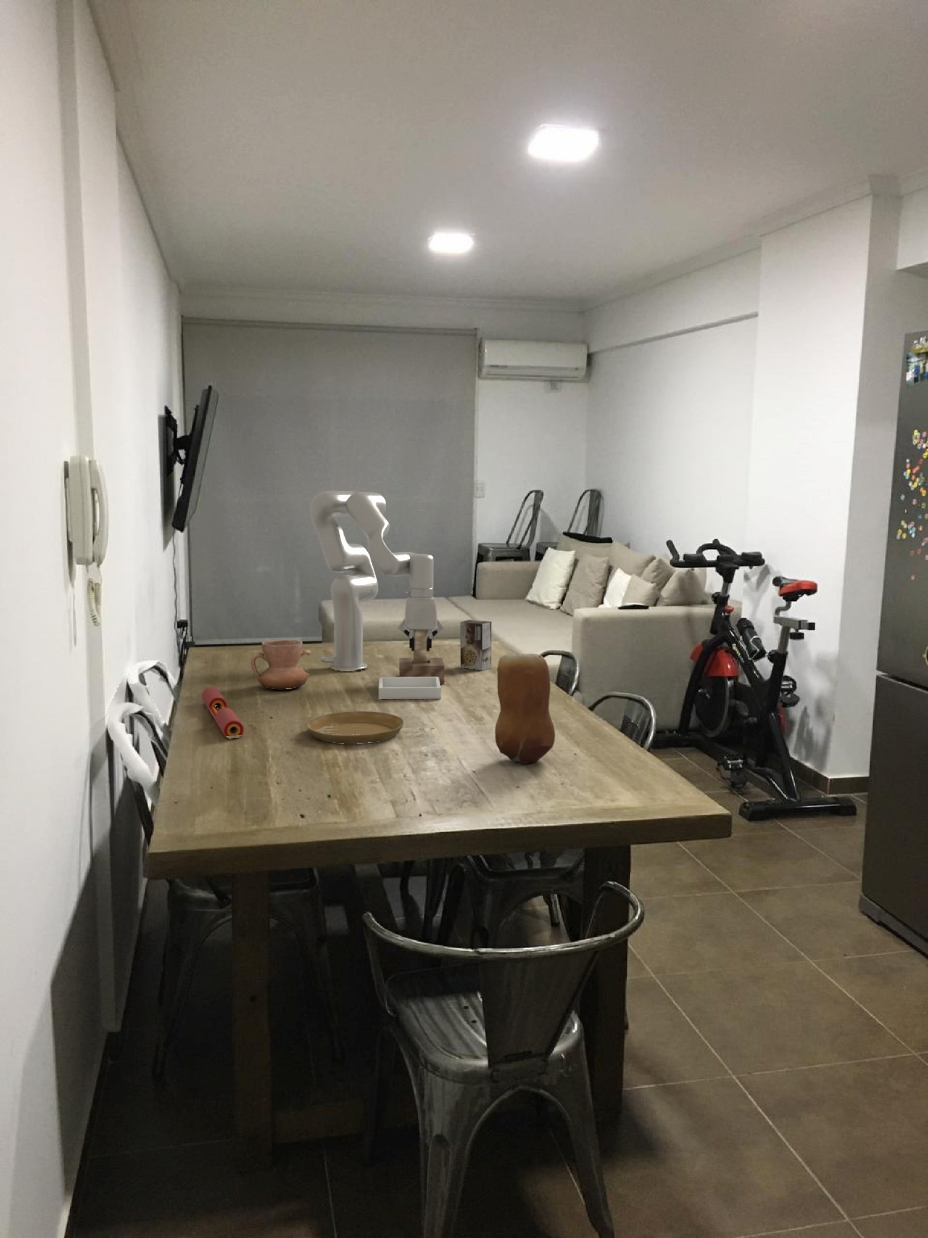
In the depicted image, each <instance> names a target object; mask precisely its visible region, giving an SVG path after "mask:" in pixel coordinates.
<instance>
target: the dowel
mask: <svg viewBox="0 0 928 1238" xmlns="http://www.w3.org/2000/svg"><path fill="white" fill-rule="evenodd" d="M428 636H429V635H428V630H414V633H413V638H414V651H413V656H412V658H413V663H427V658H428V651H427V639H428Z"/></svg>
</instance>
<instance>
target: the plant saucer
mask: <svg viewBox="0 0 928 1238" xmlns="http://www.w3.org/2000/svg"><path fill="white" fill-rule="evenodd" d="M404 723H405V721H404V719H403V718H401V717H400V716H398V715H395V714H391V713H385V712H382V711H381V712H380V711H371V710H370V711H368V710H367V711H365V710H364V711H363V710H361V711H360V710H359V711H358V710H356V711H353V710H352V711H340V712H333V713H328V714H324V715H319V716H316V717H313V718H311V719H310V720H309V721H308V722H307V723H306V727H307V729H308V731H309V732H310V734H311V735H312V736H314V737H315V738H316V739H318V740H320V741H322V740H325V741H328V742H327V743H329V742H335V743H344V744H343V745H351V744H352V745H358V744H357V743H368V742H376V743H378V742H377V741H381V742H383V741H382V740H384V741H387V740H389V739H391V738H393V737H394V736H396V735H398V733H399V732H401V730H402V728H403V727H404ZM333 724H334V725H333ZM335 724H338V725H335ZM331 725H333V726H340V727H335V728H334V727H333V728H326V729H338V730H332V731H331V730H330V731H324V732H332V733H327V734H325V733H320V732H316V730H317V729H320V728H322V727H324V726H331ZM342 726H343V727H342ZM345 726H346V727H345ZM352 726H353V727H352ZM333 732H334V733H333ZM332 734H335V735H332ZM336 734H338V735H336ZM339 734H343V735H339ZM349 734H350V735H349ZM352 734H354V735H352ZM356 734H358V735H356ZM359 734H360V735H359ZM386 739H387V740H386ZM325 741H324V742H325ZM335 743H334V744H335Z"/></svg>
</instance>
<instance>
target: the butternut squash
mask: <svg viewBox="0 0 928 1238" xmlns="http://www.w3.org/2000/svg"><path fill="white" fill-rule="evenodd" d="M496 671H497V678H496V679H497V685H496V686H497V697H498V701H499V707H500V710H499V715H498V717H497V720H496V722H495V727H494V728H495V730H494V737H495V738H494V739H495V745H496V746H497V748H498V750H499V753H500V754H502V755H504V756H506V757H507V758H508V759H509V760H511V761H514V762H519V763H522V764H527V765H529V764H533V763H537V762H538V761H539V760H541V758H544V756H546V754H547V753H549V751H551V749H552V748H553V747H554V745H555V740H556V731H555V726H554V723H553V720H552V718H551V717H552V716H551V714H550V696H551V678H550V677H551V676H550V669H549V665H548V662H547V660H546V659H545V657H543V656H542V655H541V654H538V653H512V652H511V653H508V654H507V653H506V654H504V655H502V656H501V657H499V661H498V664H497V668H496Z"/></svg>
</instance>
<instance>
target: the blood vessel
mask: <svg viewBox="0 0 928 1238" xmlns="http://www.w3.org/2000/svg"><path fill="white" fill-rule="evenodd" d="M201 699H202V701H203V702H204V704H205V706H206V708H207V709H208V711H209V713H210V715H211V716H212V718H213V719H214V721H215V722H216V724H217V726H218V727H219V729H220V731H221V732H222V734H223V735H224V737H225V736H236V735H242V736H243V735H244V733H245V729H244V725H243V723H242V722H241V720H240V719H239V717H238V716H237V715H236V713H235V712H234V710H233V709H231V708H229V707H228V703H227V700H226V699H225V697H223V695H222V694H221V692H220V691H219V690H218V688H216V687H214V686H209V687H206V688H205V689H203V691H202V694H201ZM215 705H217V706H216V707H215ZM217 708H218V709H217Z"/></svg>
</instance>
